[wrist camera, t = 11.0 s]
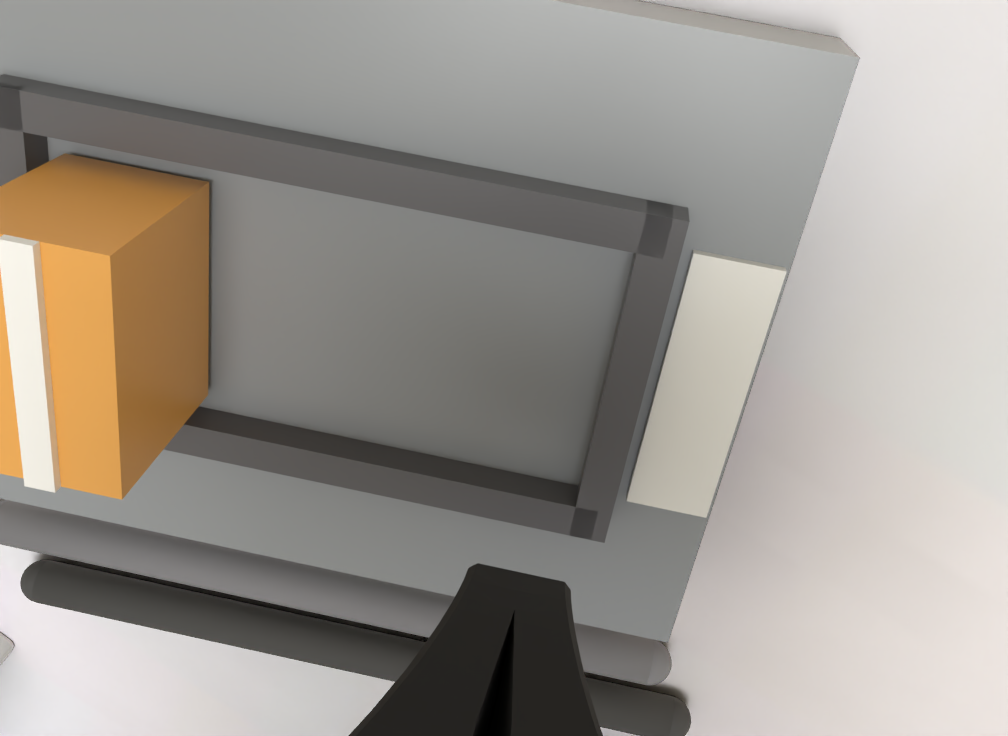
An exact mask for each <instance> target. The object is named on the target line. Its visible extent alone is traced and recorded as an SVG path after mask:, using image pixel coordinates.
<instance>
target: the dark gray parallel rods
mask: <svg viewBox="0 0 1008 736" xmlns="http://www.w3.org/2000/svg"><path fill="white" fill-rule="evenodd" d="M0 544H2V545H6V546H11V547H15V548H20V549H25V550H29V551H34V552H38V553H43V554H47V555H52V556H57V557H61V558H66V559H70V560H75V561H80V562H84V563H89V564H93V565H98V566H102V567H107V568H112V569H116V570H121V571H125V572H130V573H135V574H139V575H144V576H148V577H153V578H157V579H162V580H167V581H171V582H176V583H180V584H185V585H189V586H194V587H199V588H203V589H208V590H212V591H217V592H222V593H226V594H231V595H235V596H240V597H244V598H249V599H254V600H258V601H263V602H267V603H272V604H277V605H281V606H286V607H290V608H295V609H299V610H304V611H309V612H313V613H318V614H322V615H327V616H332V617H336V618H341V619H345V620H350V621H354V622H359V623H364V624H368V625H373V626H377V627H382V628H386V629H391V630H396V631H400V632H405V633H409V634H414V635H419V636H423V637H428V638H429V637H430V636H431V634H432V633H433V631H434V630H435V628H436V627H437V625H438V624H439V622H440V621H441V619H442V617H443V616H444V614H445V613H446V611H447V610H448V608H449V606H450V605H451V603H452V601H453V599H454V598H455V597H454V596H450V595H445V594H440V593H436V592H431V591H426V590H422V589H417V588H413V587H408V586H403V585H399V584H394V583H389V582H385V581H380V580H376V579H371V578H366V577H362V576H357V575H352V574H348V573H343V572H338V571H334V570H329V569H325V568H320V567H315V566H311V565H306V564H301V563H297V562H292V561H288V560H283V559H278V558H274V557H269V556H264V555H260V554H255V553H251V552H246V551H241V550H237V549H232V548H227V547H223V546H218V545H213V544H209V543H204V542H200V541H195V540H190V539H186V538H181V537H176V536H172V535H167V534H163V533H158V532H153V531H149V530H144V529H139V528H135V527H130V526H126V525H121V524H116V523H112V522H107V521H102V520H98V519H93V518H89V517H84V516H79V515H75V514H70V513H65V512H61V511H56V510H51V509H47V508H42V507H38V506H33V505H28V504H24V503H19V502H14V501H10V500H0ZM21 589H22V592H23V593H24V595H25V596H26V597H27V598H28V599H30V600H31V601H34V602H37V603H41V604H46V605H50V606H55V607H59V608H64V609H68V610H73V611H77V612H82V613H87V614H91V615H96V616H100V617H105V618H109V619H114V620H118V621H123V622H127V623H132V624H136V625H141V626H145V627H150V628H154V629H159V630H164V631H168V632H173V633H177V634H182V635H186V636H191V637H195V638H200V639H204V640H209V641H213V642H218V643H222V644H227V645H232V646H236V647H241V648H245V649H250V650H254V651H259V652H263V653H268V654H272V655H277V656H281V657H286V658H290V659H295V660H299V661H304V662H309V663H313V664H318V665H322V666H327V667H331V668H336V669H340V670H345V671H349V672H354V673H358V674H363V675H367V676H372V677H376V678H381V679H386V680H390V681H395V682H396V681H397V680H398V678H399V677H400V676H401V675H402V674H403V672H404V671H405V670H406V669H407V667H408V666H409V665H410V663H411V662H412V661H413V659H414V658H415V656H416V655H417V654H418V652H419V651H420V649H421V648H422V647H423V645H424V644H425V642H423V641H418V640H413V639H409V638H404V637H400V636H395V635H391V634H386V633H381V632H377V631H372V630H368V629H363V628H359V627H354V626H349V625H345V624H340V623H336V622H331V621H326V620H322V619H317V618H313V617H308V616H304V615H299V614H294V613H290V612H285V611H281V610H276V609H272V608H267V607H262V606H258V605H253V604H249V603H244V602H240V601H235V600H230V599H226V598H221V597H217V596H212V595H208V594H203V593H198V592H194V591H189V590H185V589H180V588H175V587H171V586H166V585H162V584H157V583H153V582H148V581H143V580H139V579H134V578H130V577H125V576H121V575H116V574H111V573H107V572H102V571H98V570H93V569H89V568H84V567H79V566H75V565H70V564H66V563H61V562H56V561H52V560H40V561H37V562H35V563H33V564H31V565H30V566H29V567H28V568H27V569H26V570H25V571H24V573H23V575H22V577H21ZM574 626H575V632H576V638H577V643H578V647H579V652H580V657H581V661H582V665H583V670H584V672H588V673H593V674H597V675H602V676H606V677H611V678H616V679H620V680H625V681H629V682H634V683H638V684H643V685H655V684H658V683H660V682H662V681H663V680H664V679H665V678H666V677H667V676H668V674H669V672H670V670H671V656H670V653H669V651H668V650H667V648H666V647H665V646H664V645H663V644H662V643H661V642H659V641H657V640H653V639H649V638H644V637H639V636H635V635H630V634H625V633H621V632H616V631H612V630H607V629H602V628H598V627H593V626H588V625H584V624H579V623H575V622H574ZM585 678H586V681H587V685H588V688H589V692H590V695H591V699H592V702H593V706H594V709H595V713H596V716H597V719H598V723H599V726H600V727H603V728H608V729H612V730H617V731H621V732H626V733H630V734H635V735H639V736H685V735H686V733H687V732H688V730H689V728H690V724H691V716H690V712H689V710H688V708H687V706H686V705H685V703H684V702H682V701H681V700H680V699H678V698H676V697H674V696H670V695H665V694H661V693H656V692H651V691H647V690H642V689H638V688H633V687H629V686H624V685H619V684H615V683H610V682H606V681H601V680H597V679H592V678H587V677H585Z"/></svg>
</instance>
